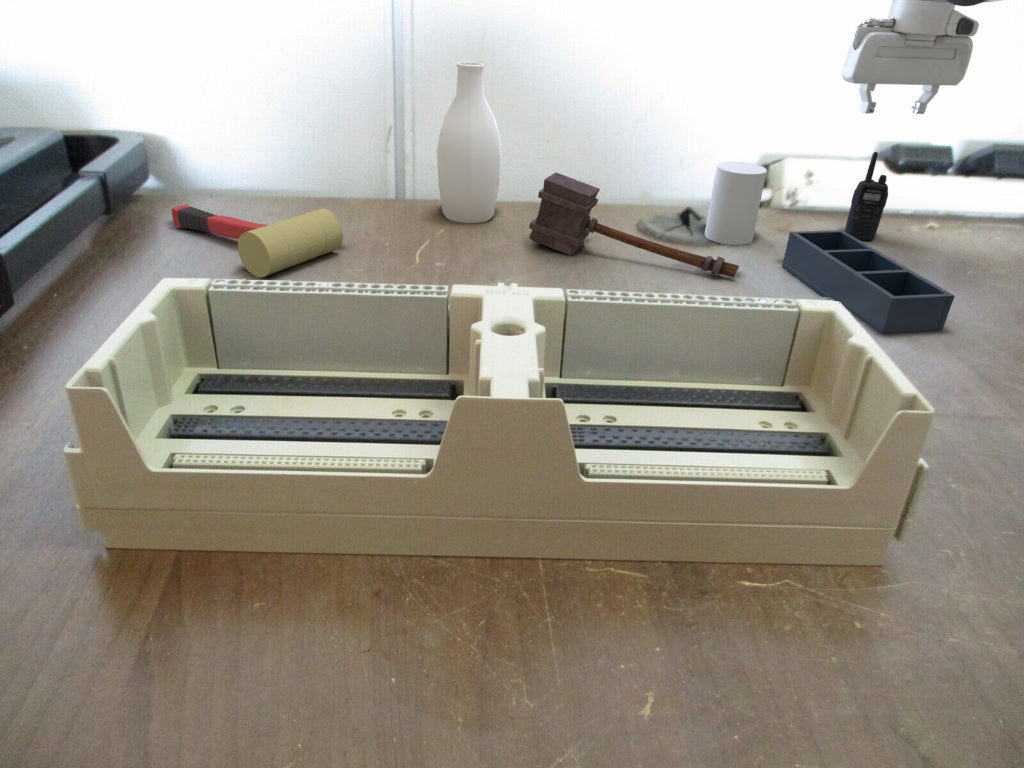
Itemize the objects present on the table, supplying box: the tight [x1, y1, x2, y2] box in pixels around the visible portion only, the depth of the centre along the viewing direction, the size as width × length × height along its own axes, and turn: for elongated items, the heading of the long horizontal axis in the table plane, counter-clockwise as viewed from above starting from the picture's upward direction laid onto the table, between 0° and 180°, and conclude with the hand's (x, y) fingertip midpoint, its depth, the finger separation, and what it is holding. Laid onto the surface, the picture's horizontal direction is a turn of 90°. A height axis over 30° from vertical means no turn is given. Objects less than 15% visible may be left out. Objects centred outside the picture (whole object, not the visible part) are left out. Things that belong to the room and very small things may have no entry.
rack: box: [781, 229, 956, 335], centre depth 110 cm, size 9×26×6 cm, turn 12°
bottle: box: [436, 61, 502, 224], centre depth 131 cm, size 11×11×25 cm
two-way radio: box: [844, 151, 889, 242], centre depth 132 cm, size 6×4×15 cm
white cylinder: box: [704, 160, 768, 246], centre depth 130 cm, size 8×8×12 cm
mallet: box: [171, 203, 344, 278], centre depth 118 cm, size 14×7×30 cm
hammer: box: [528, 172, 740, 278], centre depth 119 cm, size 7×33×10 cm, turn 66°
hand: (891, 113), depth 125 cm, fingers open, 8 cm apart
